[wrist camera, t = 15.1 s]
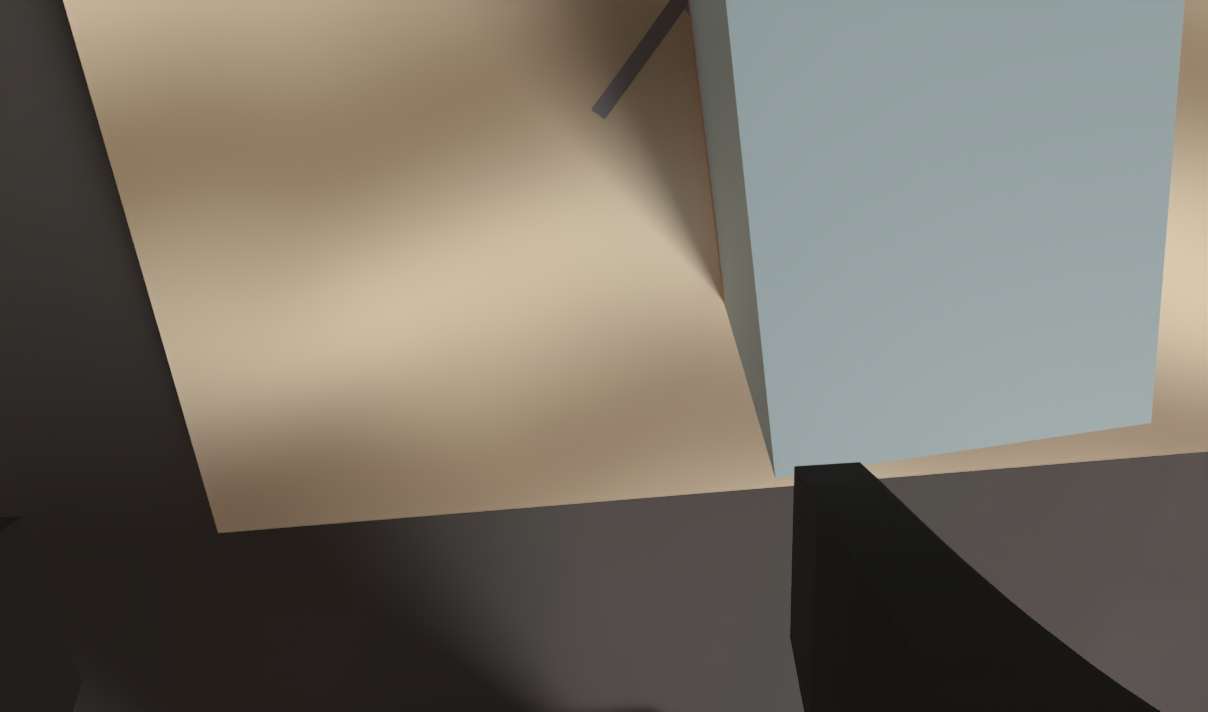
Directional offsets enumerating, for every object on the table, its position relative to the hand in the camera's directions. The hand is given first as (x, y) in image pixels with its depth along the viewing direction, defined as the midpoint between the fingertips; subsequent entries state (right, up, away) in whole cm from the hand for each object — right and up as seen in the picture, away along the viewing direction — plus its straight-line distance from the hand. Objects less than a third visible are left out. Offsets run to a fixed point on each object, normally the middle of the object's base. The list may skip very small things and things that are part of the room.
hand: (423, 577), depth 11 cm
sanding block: (+5, +7, +5) cm, 10 cm away
